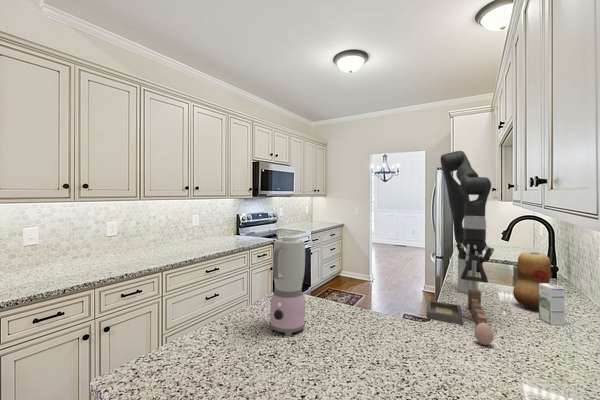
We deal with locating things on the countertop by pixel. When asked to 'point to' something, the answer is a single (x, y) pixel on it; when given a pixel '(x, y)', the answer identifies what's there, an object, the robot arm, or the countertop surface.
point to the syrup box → (552, 304)
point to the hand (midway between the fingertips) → (474, 271)
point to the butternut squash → (531, 278)
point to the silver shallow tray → (444, 312)
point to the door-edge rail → (476, 306)
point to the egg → (483, 333)
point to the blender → (288, 286)
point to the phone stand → (482, 272)
